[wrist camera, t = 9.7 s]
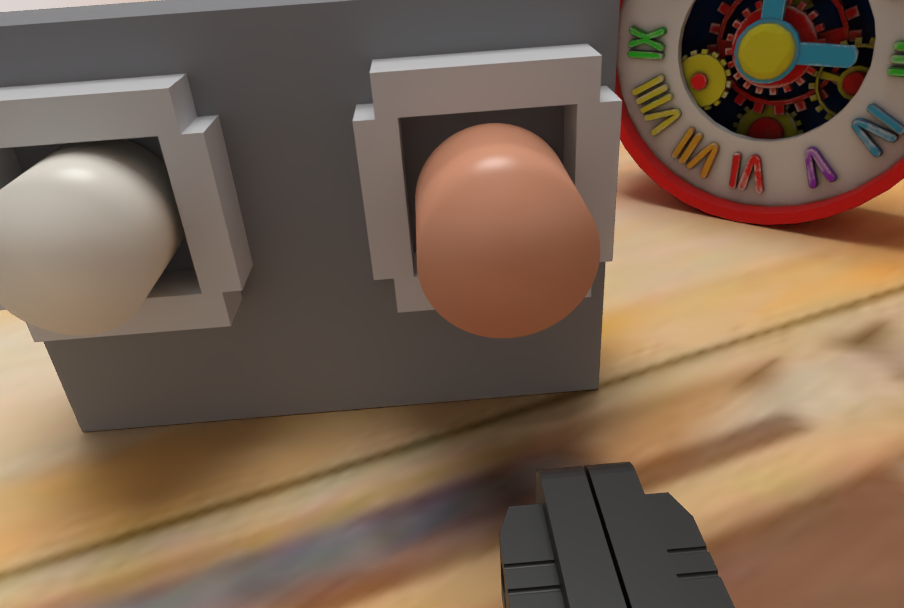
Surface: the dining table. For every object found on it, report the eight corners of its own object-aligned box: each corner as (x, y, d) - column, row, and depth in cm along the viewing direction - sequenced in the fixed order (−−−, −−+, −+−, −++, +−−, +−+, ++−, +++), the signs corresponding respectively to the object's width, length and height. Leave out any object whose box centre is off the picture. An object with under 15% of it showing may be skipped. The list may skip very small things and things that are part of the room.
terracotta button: (421, 272, 24) (408, 129, 22) (566, 260, 24) (569, 117, 22) (424, 345, 20) (408, 180, 18) (596, 330, 20) (604, 165, 18)
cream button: (67, 274, 26) (16, 141, 23) (204, 263, 26) (168, 129, 23) (7, 341, 22) (-63, 190, 19) (168, 328, 22) (119, 176, 19)
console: (570, 316, 35) (580, -37, 27) (609, 419, 28) (639, -13, 20) (130, 352, 35) (7, 6, 27) (62, 465, 28) (-133, 44, 20)
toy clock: (590, 193, 49) (604, -146, 39) (626, 167, 53) (647, -147, 43) (922, 258, 38) (1062, -189, 28) (937, 220, 42) (1064, -185, 32)
